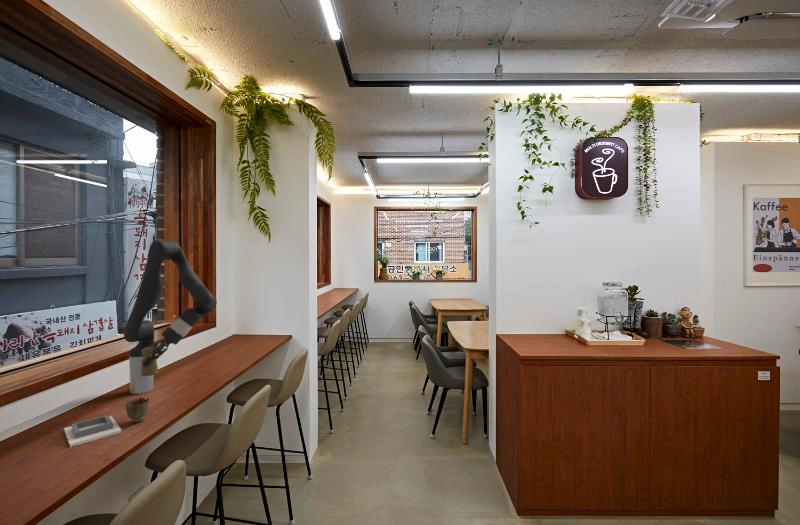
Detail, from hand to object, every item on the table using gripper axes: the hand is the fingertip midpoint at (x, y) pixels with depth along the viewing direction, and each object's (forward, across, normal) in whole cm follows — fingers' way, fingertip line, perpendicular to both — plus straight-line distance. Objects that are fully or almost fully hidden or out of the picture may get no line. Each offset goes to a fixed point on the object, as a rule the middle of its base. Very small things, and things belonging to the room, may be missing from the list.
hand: (143, 364), depth 153 cm
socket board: (+26, +8, +2) cm, 27 cm away
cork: (+2, 0, +5) cm, 5 cm away
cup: (+16, +9, +12) cm, 22 cm away
